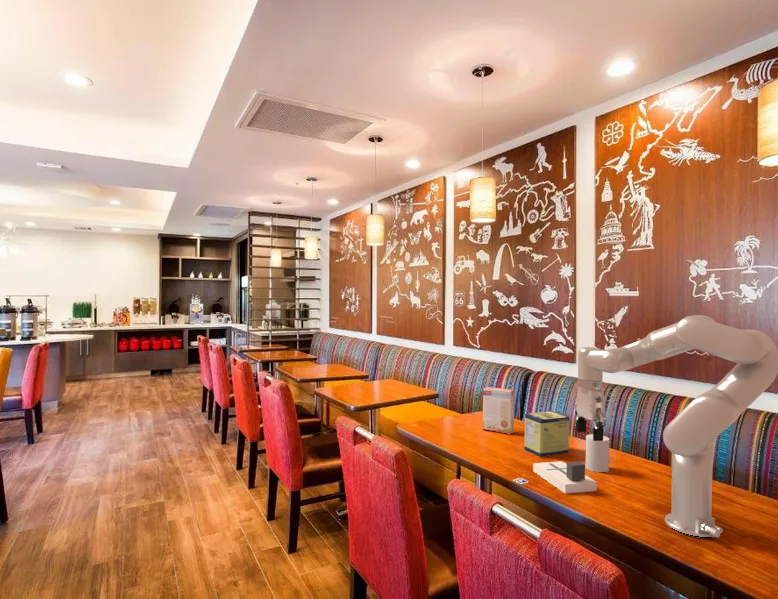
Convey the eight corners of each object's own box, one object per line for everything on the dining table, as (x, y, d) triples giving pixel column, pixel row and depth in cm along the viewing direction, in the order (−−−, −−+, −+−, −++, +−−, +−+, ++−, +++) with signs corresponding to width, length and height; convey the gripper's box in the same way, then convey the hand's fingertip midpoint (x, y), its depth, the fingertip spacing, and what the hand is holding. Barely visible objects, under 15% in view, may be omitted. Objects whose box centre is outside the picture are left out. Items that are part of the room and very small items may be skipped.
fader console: (596, 490, 152) (596, 481, 152) (565, 493, 150) (565, 484, 150) (561, 469, 172) (561, 460, 172) (533, 471, 169) (533, 462, 169)
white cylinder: (611, 473, 168) (611, 441, 168) (588, 471, 170) (588, 439, 170) (605, 465, 176) (606, 435, 176) (583, 464, 178) (583, 433, 178)
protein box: (569, 453, 191) (570, 416, 191) (540, 457, 185) (540, 419, 185) (552, 445, 201) (552, 410, 201) (523, 449, 195) (524, 413, 195)
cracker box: (514, 432, 220) (514, 389, 220) (510, 435, 215) (511, 391, 215) (486, 427, 228) (487, 386, 228) (482, 430, 223) (483, 388, 223)
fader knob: (584, 479, 153) (585, 464, 153) (571, 480, 152) (572, 465, 152) (579, 476, 156) (579, 461, 156) (566, 477, 155) (566, 462, 155)
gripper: (616, 389, 142) (616, 444, 142) (586, 380, 159) (585, 428, 159) (594, 389, 141) (593, 444, 141) (566, 380, 158) (565, 429, 158)
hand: (589, 436), depth 150 cm, fingers open, 9 cm apart
